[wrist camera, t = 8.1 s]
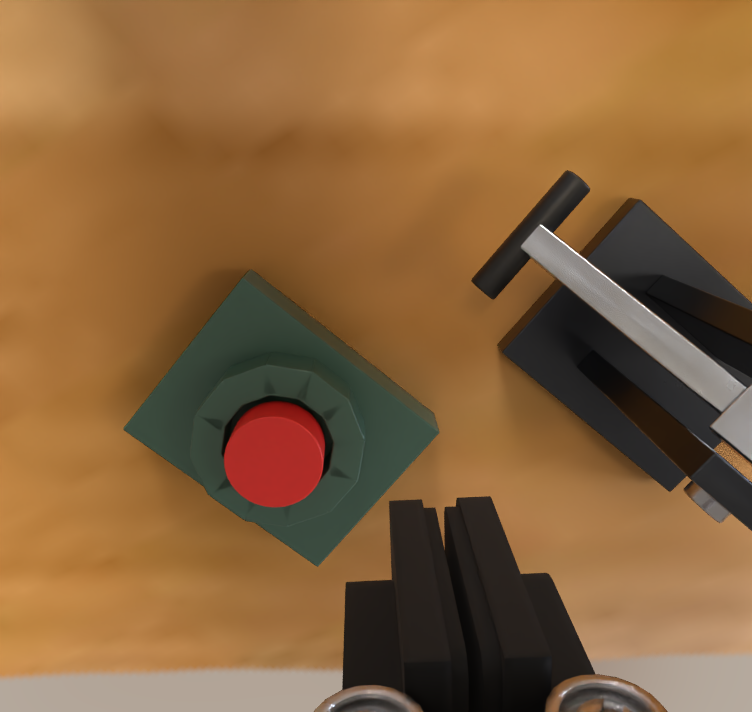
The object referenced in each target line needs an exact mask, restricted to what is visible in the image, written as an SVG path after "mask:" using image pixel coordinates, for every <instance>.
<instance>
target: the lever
mask: <svg viewBox="0 0 752 712" xmlns="http://www.w3.org/2000/svg"><path fill="white" fill-rule="evenodd" d="M589 191H590V188H589V186H588V185H587V184H586V183H585V182H584V181H583V180H582V179H581V178H580V177H578V176H577V175H576V174H574V173H573V172H571V171H568V170H567V171H565V172H564V173H563V175H562V176H561V177H560V178H559V179H558V180H557V182H556V183H555V184H554V185H553V186H552V187H551V188H550V190H549V191H548V192H547V193H546V194H545V195H544V196H543V198H542V199H541V200H540V201H539V202H538V203H537V205H536V206H535V207H534V208H533V209H532V210H531V211H530V213H529V214H528V215H527V216H526V217H525V218H524V220H523V221H522V222H521V223H520V224H519V225H518V226H517V228H516V229H515V230H514V231H513V232H512V233H511V234H510V236H509V237H508V238H507V239H506V240H505V241H504V243H503V244H502V245H501V246H500V247H499V248H498V249H497V251H496V252H495V253H494V254H493V255H492V256H491V257H490V259H489V260H488V261H487V262H486V263H485V264H484V266H483V267H482V268H481V269H480V270H479V271H478V272H477V274H476V275H475V276H474V277H473V278H472V280H471V281H472V282H473V283H474V284H475V285H476V286H477V287H478V288H479V289H480V290H481V291H483V292H484V293H485V294H486V295H487V296H489V297H490V298H491V299H495V298H496V297H497V296H498V294H499V293H500V292H501V291H502V290H503V289H504V288H505V286H506V285H507V284H508V283H509V282H510V281H511V280H512V279H513V277H514V276H515V275H516V274H517V273H518V272H519V271H520V270H521V268H522V267H523V266H524V265H525V264H526V263H527V262H528V260H529V259H532V260H533V261H534V262H535V263H536V264H538V265H539V266H540V267H541V268H543V269H544V270H545V271H546V272H547V273H549V274H550V275H551V276H552V277H553V278H555V279H556V280H557V281H558V282H559V283H561V284H562V285H563V286H564V287H566V288H567V289H568V290H569V291H570V292H572V293H573V294H574V295H575V296H576V297H578V298H579V299H580V300H581V301H583V302H584V303H585V304H586V305H587V306H589V307H590V308H591V309H592V310H593V311H595V312H596V313H597V314H598V315H599V316H601V317H602V318H603V319H604V320H606V321H607V322H608V323H609V324H610V325H612V326H613V327H614V328H615V329H616V330H618V331H619V332H620V333H621V334H622V335H624V336H625V337H626V338H627V339H629V340H630V341H631V342H632V343H633V344H635V345H636V346H637V347H638V348H639V349H641V350H642V351H643V352H644V353H646V354H647V355H648V356H649V357H650V358H652V359H653V360H654V361H655V362H656V363H658V364H659V365H660V366H661V367H662V368H664V369H665V370H666V371H667V372H669V373H670V374H671V375H672V376H673V377H675V378H676V379H677V380H678V381H679V382H681V383H682V384H683V385H684V386H685V387H687V388H688V389H689V390H690V391H692V392H693V393H694V394H695V395H696V396H698V397H699V398H700V399H701V400H702V401H704V402H705V403H706V404H707V405H708V406H710V407H711V408H712V409H713V410H715V411H716V412H717V413H718V414H719V415H720V416H719V417H718V418H717V419H716V420H715V421H714V422H713V423H712V424H711V425H710V426H709V428H710V430H711V432H712V433H713V434H714V435H715V436H716V437H718V438H719V439H720V440H721V441H722V442H724V443H725V444H726V445H727V446H728V447H730V448H731V449H732V450H733V451H734V452H735V453H737V454H738V455H739V456H740V457H741V458H743V459H744V460H745V461H746V462H747V463H749V464H750V465H751V466H752V384H751V385H750V386H749V387H747V386H746V385H745V384H744V383H742V382H741V381H740V380H739V379H737V378H736V377H735V376H734V375H732V374H731V373H730V372H729V371H727V370H726V369H725V368H723V367H722V366H721V365H720V364H718V363H717V362H716V361H715V360H713V359H712V358H711V357H710V356H708V355H707V354H706V353H704V352H703V351H702V350H701V349H699V348H698V347H697V346H696V345H694V344H693V343H692V342H691V341H689V340H688V339H687V338H686V337H684V336H683V335H682V334H680V333H679V332H678V331H677V330H675V329H674V328H673V327H672V326H670V325H669V324H668V323H667V322H665V321H664V320H663V319H662V318H660V317H659V316H658V315H656V314H655V313H654V312H653V311H651V310H650V309H649V308H648V307H646V306H645V305H644V304H643V303H641V302H640V301H639V300H638V299H636V298H635V297H634V296H632V295H631V294H630V293H629V292H627V291H626V290H625V289H624V288H622V287H621V286H620V285H619V284H617V283H616V282H615V281H613V280H612V279H611V278H610V277H608V276H607V275H606V274H605V273H603V272H602V271H601V270H600V269H598V268H597V267H596V266H595V265H593V264H592V263H591V262H589V261H588V260H587V259H586V258H584V257H583V256H582V255H581V254H579V253H578V252H577V251H576V250H574V249H573V248H572V247H571V246H569V245H568V244H567V243H565V242H564V241H563V240H562V239H560V238H559V237H558V236H557V235H555V234H554V233H553V232H554V231H555V230H556V229H557V228H558V226H559V225H560V224H561V223H562V222H563V221H564V220H565V219H566V217H567V216H568V215H569V214H570V213H571V212H572V211H573V210H574V208H575V207H576V206H577V205H578V204H579V203H580V202H581V200H582V199H583V198H584V197H585V196H586V195H587V194H588V193H589Z"/></svg>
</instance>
